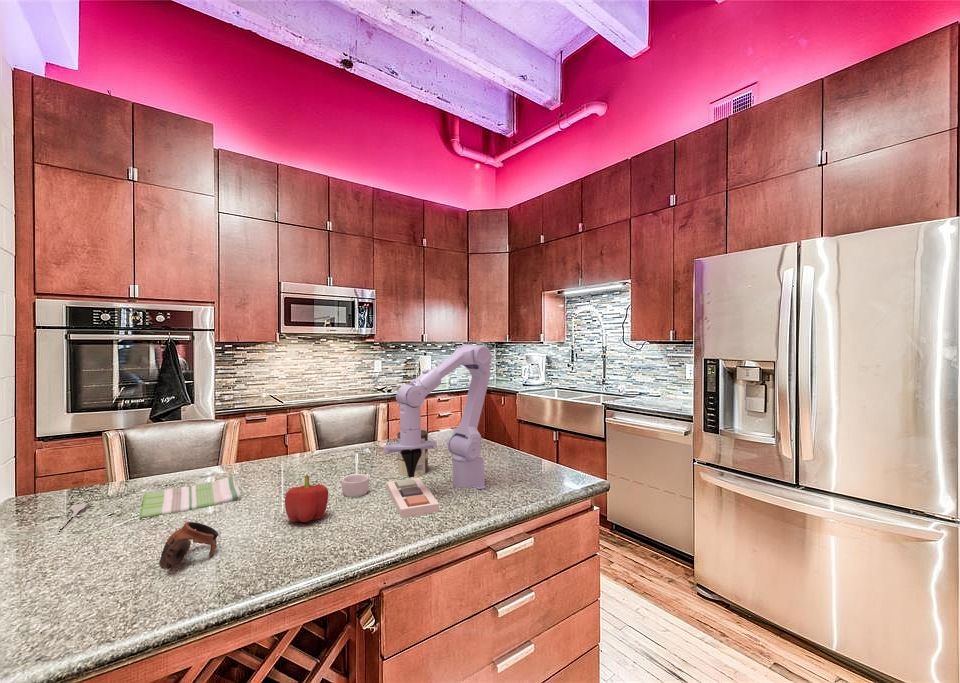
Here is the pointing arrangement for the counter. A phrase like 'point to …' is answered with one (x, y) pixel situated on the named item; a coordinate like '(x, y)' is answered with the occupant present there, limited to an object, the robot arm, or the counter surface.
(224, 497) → the dish towel
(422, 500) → the key terracotta
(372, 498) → the counter surface
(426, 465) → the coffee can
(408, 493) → the key charcoal
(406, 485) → the key sage
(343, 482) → the teacup
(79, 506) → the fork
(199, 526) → the brown curved piece
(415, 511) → the pink tray
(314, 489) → the vegetable
